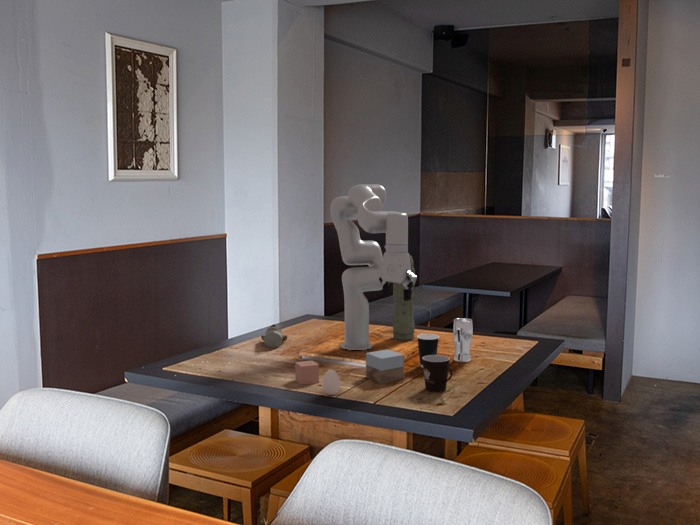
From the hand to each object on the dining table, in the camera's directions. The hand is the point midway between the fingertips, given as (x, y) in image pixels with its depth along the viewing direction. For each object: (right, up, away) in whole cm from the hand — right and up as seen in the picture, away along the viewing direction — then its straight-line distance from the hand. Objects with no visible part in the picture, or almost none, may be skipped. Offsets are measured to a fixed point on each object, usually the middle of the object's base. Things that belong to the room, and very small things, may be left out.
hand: (396, 298), depth 245 cm
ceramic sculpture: (-47, -21, +41) cm, 65 cm away
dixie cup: (+11, -25, +7) cm, 28 cm away
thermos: (+6, -19, +51) cm, 55 cm away
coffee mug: (+11, -28, -21) cm, 37 cm away
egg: (-22, -29, -25) cm, 44 cm away
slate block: (-5, -22, -7) cm, 24 cm away
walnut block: (-4, -26, -7) cm, 28 cm away
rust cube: (-30, -27, -10) cm, 42 cm away
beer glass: (+25, -24, +16) cm, 38 cm away
